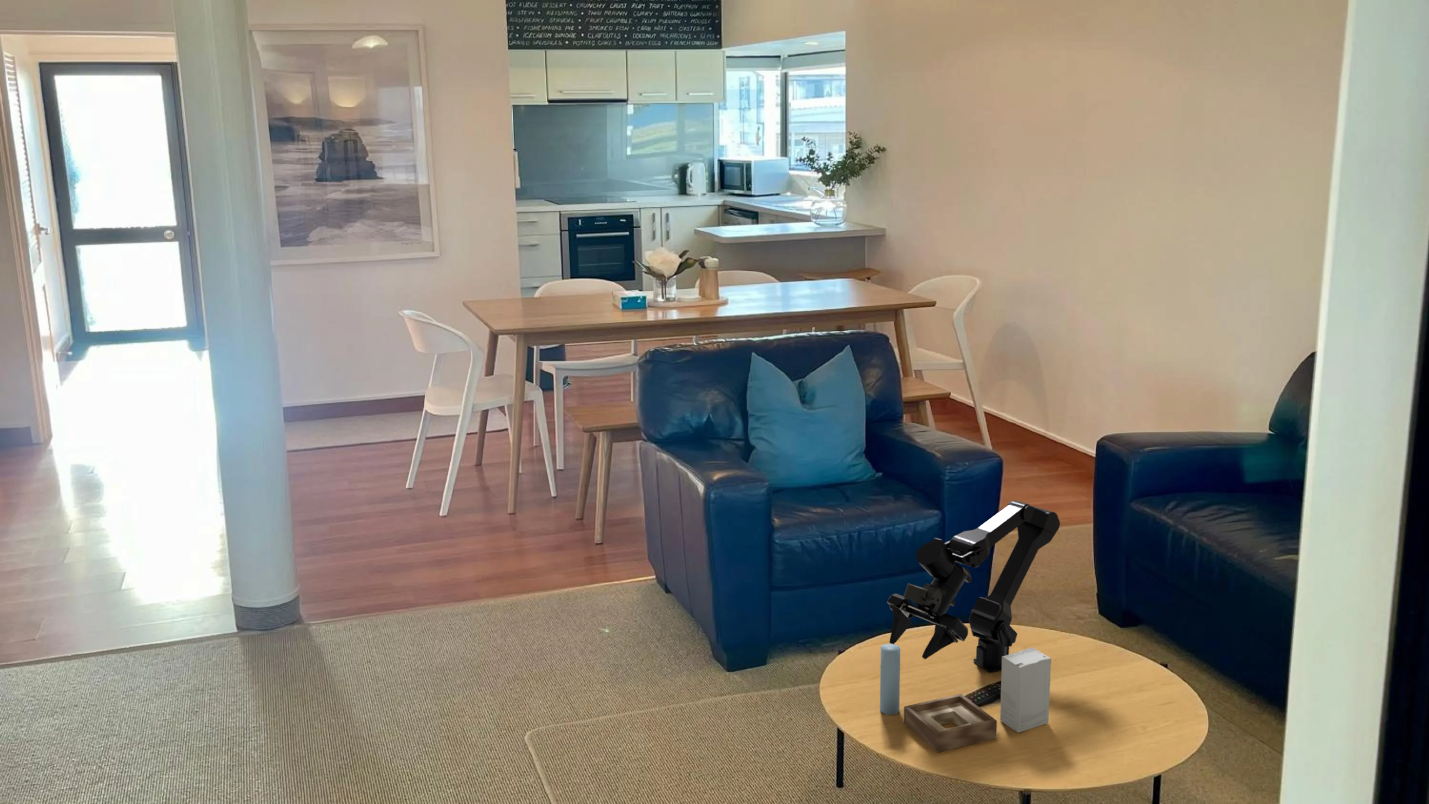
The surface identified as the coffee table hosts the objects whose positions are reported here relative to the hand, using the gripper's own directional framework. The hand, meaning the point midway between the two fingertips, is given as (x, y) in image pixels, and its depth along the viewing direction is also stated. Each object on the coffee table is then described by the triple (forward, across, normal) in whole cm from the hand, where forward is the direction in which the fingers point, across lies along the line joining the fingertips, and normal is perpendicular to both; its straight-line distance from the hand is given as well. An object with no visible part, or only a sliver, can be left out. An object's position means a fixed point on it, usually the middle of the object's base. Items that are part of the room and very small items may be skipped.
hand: (906, 650), depth 246 cm
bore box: (+10, +14, +7) cm, 18 cm away
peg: (+12, 0, +5) cm, 13 cm away
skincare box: (0, +21, +17) cm, 27 cm away
